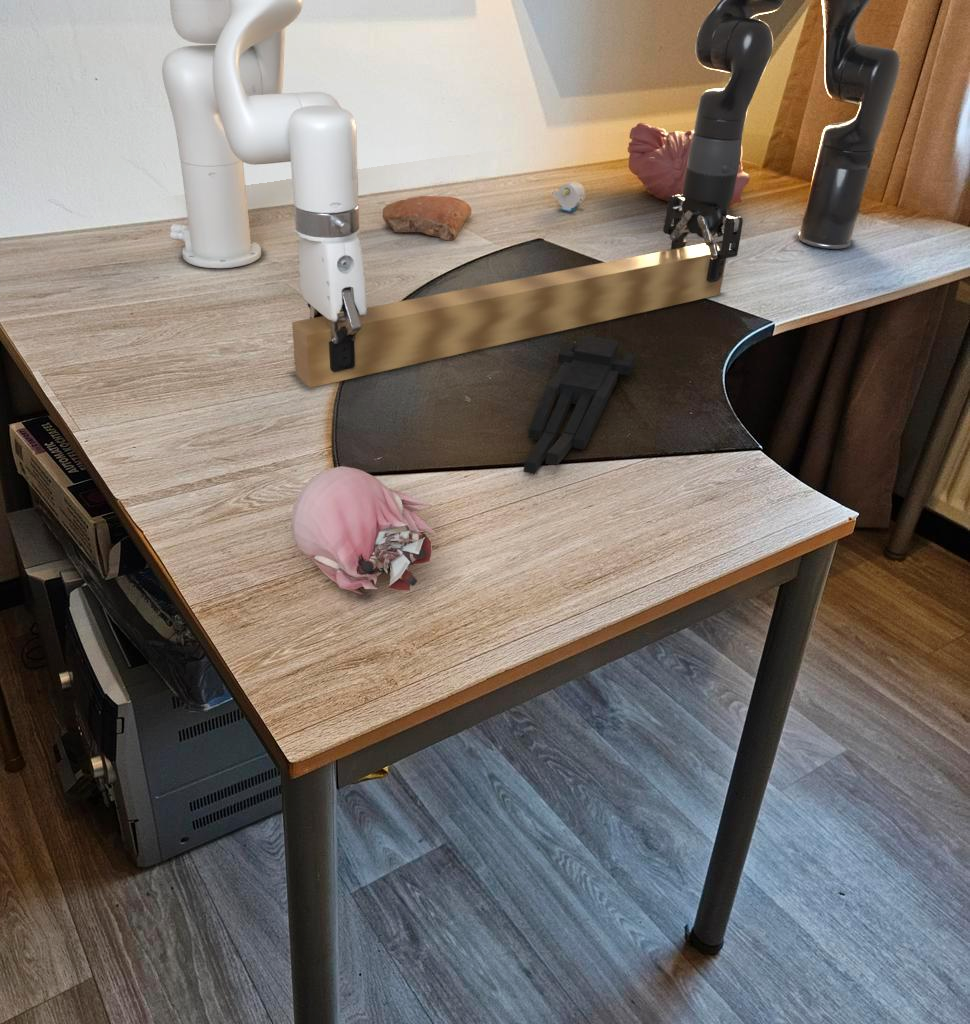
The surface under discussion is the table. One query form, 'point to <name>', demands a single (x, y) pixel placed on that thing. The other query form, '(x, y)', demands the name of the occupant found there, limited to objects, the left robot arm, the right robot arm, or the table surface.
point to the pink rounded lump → (359, 529)
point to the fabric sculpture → (667, 161)
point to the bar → (505, 312)
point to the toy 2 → (575, 398)
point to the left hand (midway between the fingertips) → (333, 359)
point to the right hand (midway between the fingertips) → (693, 272)
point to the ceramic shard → (428, 215)
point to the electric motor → (570, 196)
